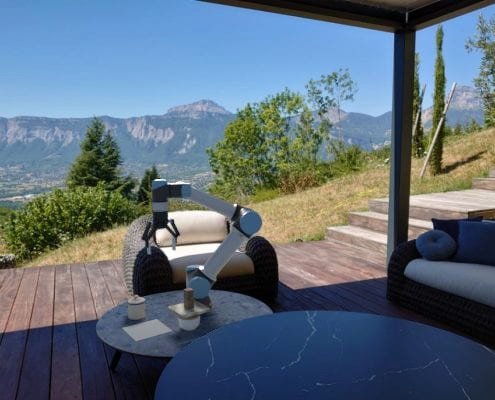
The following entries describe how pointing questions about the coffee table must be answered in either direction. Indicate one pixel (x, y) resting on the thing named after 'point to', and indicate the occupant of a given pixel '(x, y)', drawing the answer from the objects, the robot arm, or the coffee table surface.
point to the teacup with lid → (136, 308)
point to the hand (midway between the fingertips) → (161, 252)
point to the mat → (146, 329)
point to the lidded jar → (189, 322)
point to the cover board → (192, 311)
